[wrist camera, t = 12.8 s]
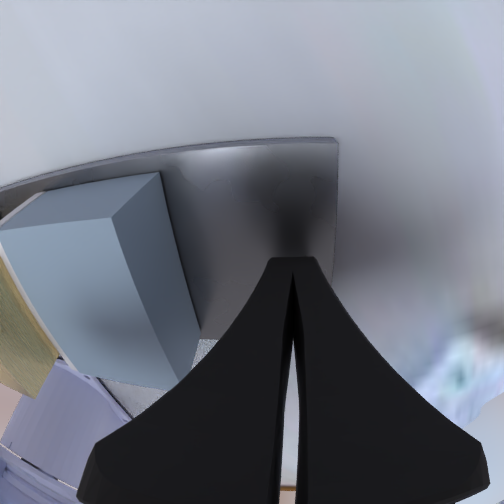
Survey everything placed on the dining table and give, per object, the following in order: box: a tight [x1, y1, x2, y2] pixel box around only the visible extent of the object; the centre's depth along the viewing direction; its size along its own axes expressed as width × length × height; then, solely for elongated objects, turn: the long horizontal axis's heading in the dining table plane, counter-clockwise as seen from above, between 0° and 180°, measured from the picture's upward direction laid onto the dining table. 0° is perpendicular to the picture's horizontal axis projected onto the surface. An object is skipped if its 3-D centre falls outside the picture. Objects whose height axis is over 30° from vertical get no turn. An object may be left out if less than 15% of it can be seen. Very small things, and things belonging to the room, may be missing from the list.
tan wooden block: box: [0, 256, 60, 399], centre depth 9 cm, size 5×4×6 cm
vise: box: [0, 137, 338, 341], centre depth 10 cm, size 8×18×4 cm, turn 95°
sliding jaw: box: [0, 172, 201, 391], centre depth 9 cm, size 7×6×3 cm
